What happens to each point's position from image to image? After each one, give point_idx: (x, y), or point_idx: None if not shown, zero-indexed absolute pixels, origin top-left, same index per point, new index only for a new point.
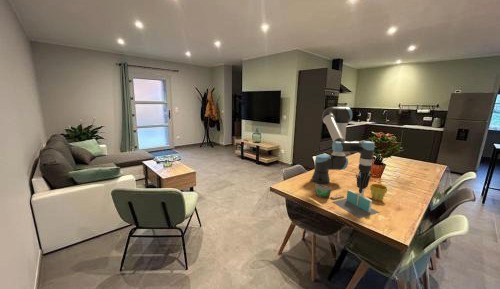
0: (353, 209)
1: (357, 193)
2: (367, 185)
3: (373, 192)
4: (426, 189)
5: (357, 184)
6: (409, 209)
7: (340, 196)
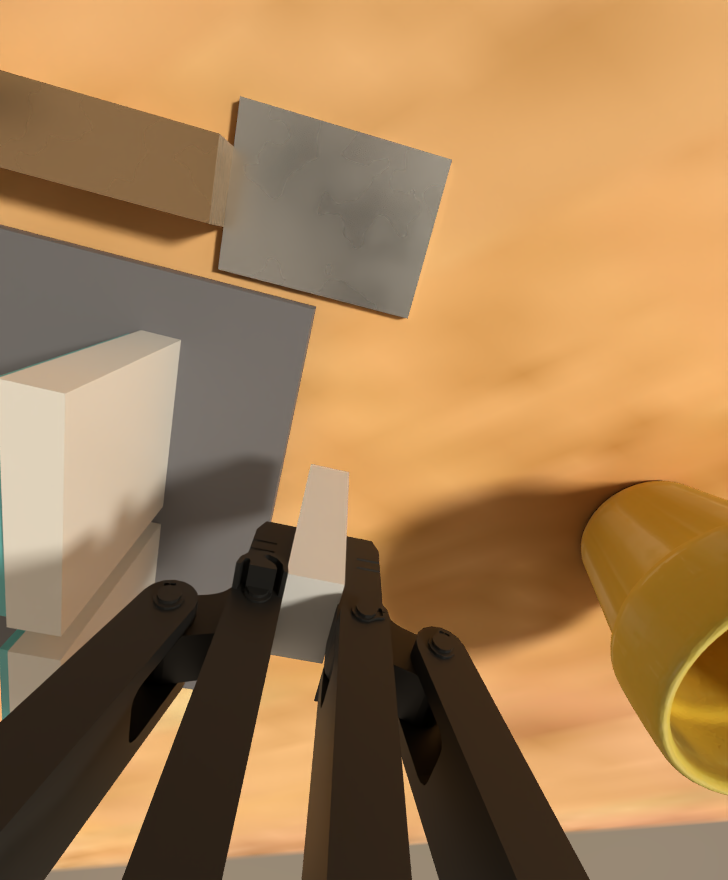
0: None
1: (57, 598)
2: (432, 741)
3: (628, 584)
4: None
5: (77, 670)
6: (596, 778)
7: (120, 190)
